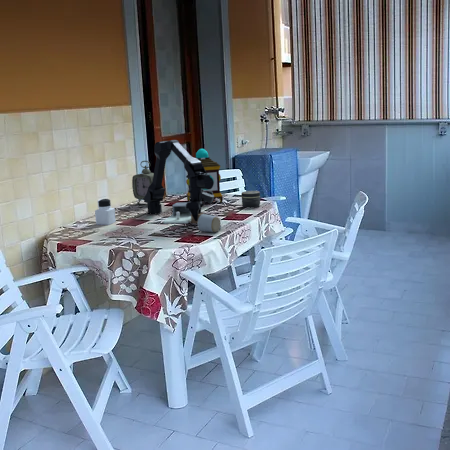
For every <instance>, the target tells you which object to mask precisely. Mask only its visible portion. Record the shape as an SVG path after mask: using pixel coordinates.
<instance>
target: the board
mask: <svg viewBox="0 0 450 450" xmlns="http://www.w3.org/2000/svg"><path fill="white" fill-rule="evenodd" d="M190 222H191V215H190V212H176V215H175V216H173V213H172V214H171V215H170V216H169V217H167V218H165V220H163V224H166V225H167V224H189V223H190Z"/></svg>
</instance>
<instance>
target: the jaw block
mask: <svg viewBox="0 0 450 450" xmlns="http://www.w3.org/2000/svg"><path fill="white" fill-rule="evenodd" d="M202 214H204V212H201V213H198V219H199V217H200V216H201V215H202ZM190 222H191V224H198V220H197V221H195V220H194V218H193V216H192V214H191V221H190Z"/></svg>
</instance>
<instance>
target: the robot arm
mask: <svg viewBox="0 0 450 450" xmlns="http://www.w3.org/2000/svg"><path fill="white" fill-rule="evenodd" d="M172 152H173V154H175V156H177V158H178V159H179V160H180V161H181V162H182V163H183V168H184V170H185V171H186V173H187V175H185V178H187V179H188V178H189V186H190V190H189V189H188V191H189V193H190V199H189V200H188V201H187V202H188V203H187V204H186V208H187V209H189V211H190V212H191V214H192V216H193V218H194V220H195V221H197V220H198V213H202V208H203V207H204V205H205V204H206V203H208V204H212V203H213V201H214V199H215V198H214V195H213V192H211V191H209V192H208V193H205V192H203V189H211V188H212V187H213V185H214V181H213V179H212V178H211V177H210V175H209V174H208V175H207V172H206V170H205V169H204V167H203V165H202V163H201V161H199V160H198V159H196V158H195V157H193V156H192V155H191V154H190V153H189V152H188V151H187V150H186V149H185V148H184V147H183V146H182V144H180V141H179V140H177V139H171V140H164V141H163V140H162V141H156V142H155V144H154V156H155V164H154V168H153V169H154V170H153V173H154V175H153V181H152V183H151V185H150V186H149V187H148V190H147V193H146V195H145V197H144V200H143V202H144V203H145V204H146V206H147V208H146V209H147V213H146V215H160V214H161V213H162V212H163V208H162V203H161V202H163V200H164V196H165V192H166V188H164V186H163V180H164V174H165V168H166V162H167V159H168V158H169V156H171V153H172ZM188 173H189V174H188ZM189 186H188V187H189Z"/></svg>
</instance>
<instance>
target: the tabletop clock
mask: <svg viewBox="0 0 450 450" xmlns="http://www.w3.org/2000/svg"><path fill="white" fill-rule="evenodd" d="M142 163H147V164H149V165H148V166H147V165H144V166H143V165H142ZM139 165H140V167H141V168H142V170H141V173H138V174H134V175H132V179H131V181H132V182H131V186H132V187H131V188H132V192H133V193H132V194H133V196H134V198H135V199H137V200H138V201H136V205H140V202H141V201H142V200H143V201H144V197H145V195H146V193H147V190H148V187H149V186H150V185H151V183H152V181H153V175H154V172H151V170H150V169H149V168H150V167H151V163H150V161H148V160H142V161H141V162H140V164H139Z"/></svg>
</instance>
